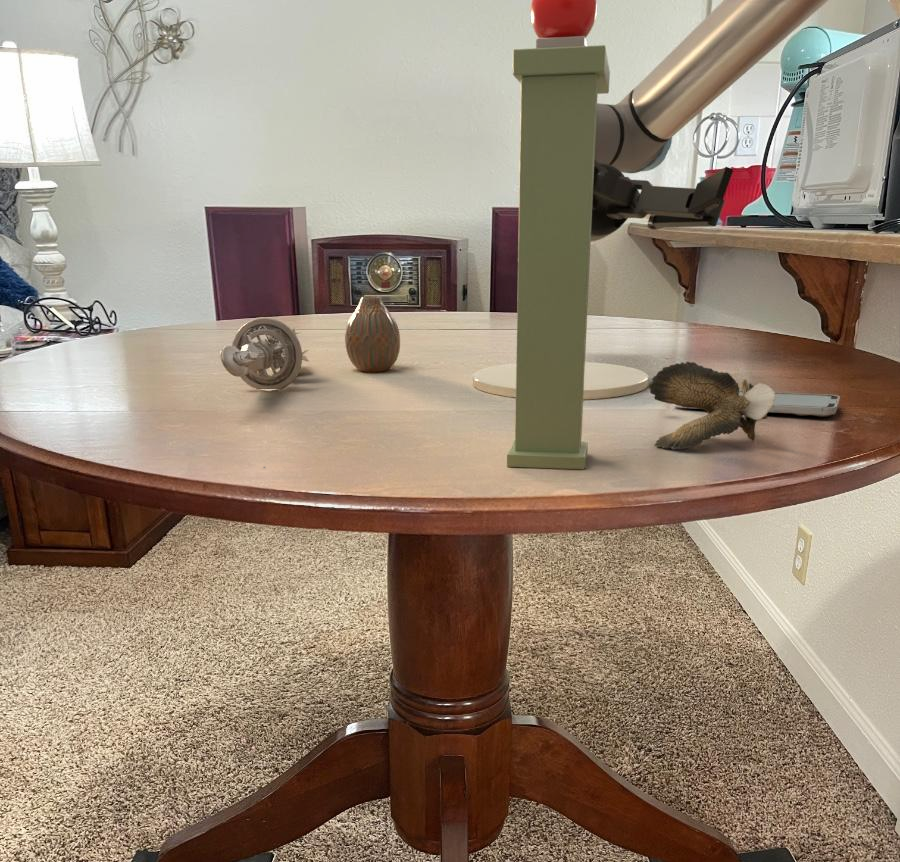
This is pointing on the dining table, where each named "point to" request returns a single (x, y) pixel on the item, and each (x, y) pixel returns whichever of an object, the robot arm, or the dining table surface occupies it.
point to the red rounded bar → (562, 22)
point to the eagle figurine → (709, 403)
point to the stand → (554, 249)
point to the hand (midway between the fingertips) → (657, 155)
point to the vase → (372, 336)
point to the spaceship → (264, 354)
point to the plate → (596, 380)
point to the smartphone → (802, 404)
